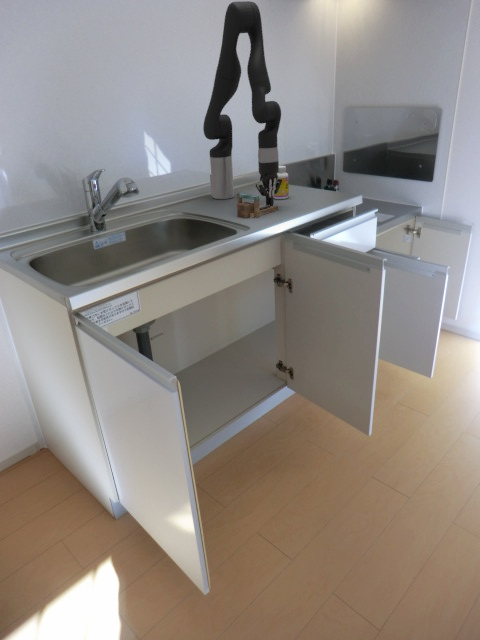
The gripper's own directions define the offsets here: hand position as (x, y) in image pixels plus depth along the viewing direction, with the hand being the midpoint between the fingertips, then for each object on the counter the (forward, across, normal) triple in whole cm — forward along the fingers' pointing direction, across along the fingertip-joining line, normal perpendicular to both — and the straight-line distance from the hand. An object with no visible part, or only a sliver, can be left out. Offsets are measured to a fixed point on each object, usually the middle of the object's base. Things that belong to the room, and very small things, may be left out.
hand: (269, 206), depth 188 cm
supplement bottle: (+1, -17, -9) cm, 19 cm away
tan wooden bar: (+2, +6, 0) cm, 6 cm away
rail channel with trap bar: (+1, +6, 0) cm, 6 cm away
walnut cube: (+1, +13, 0) cm, 13 cm away
